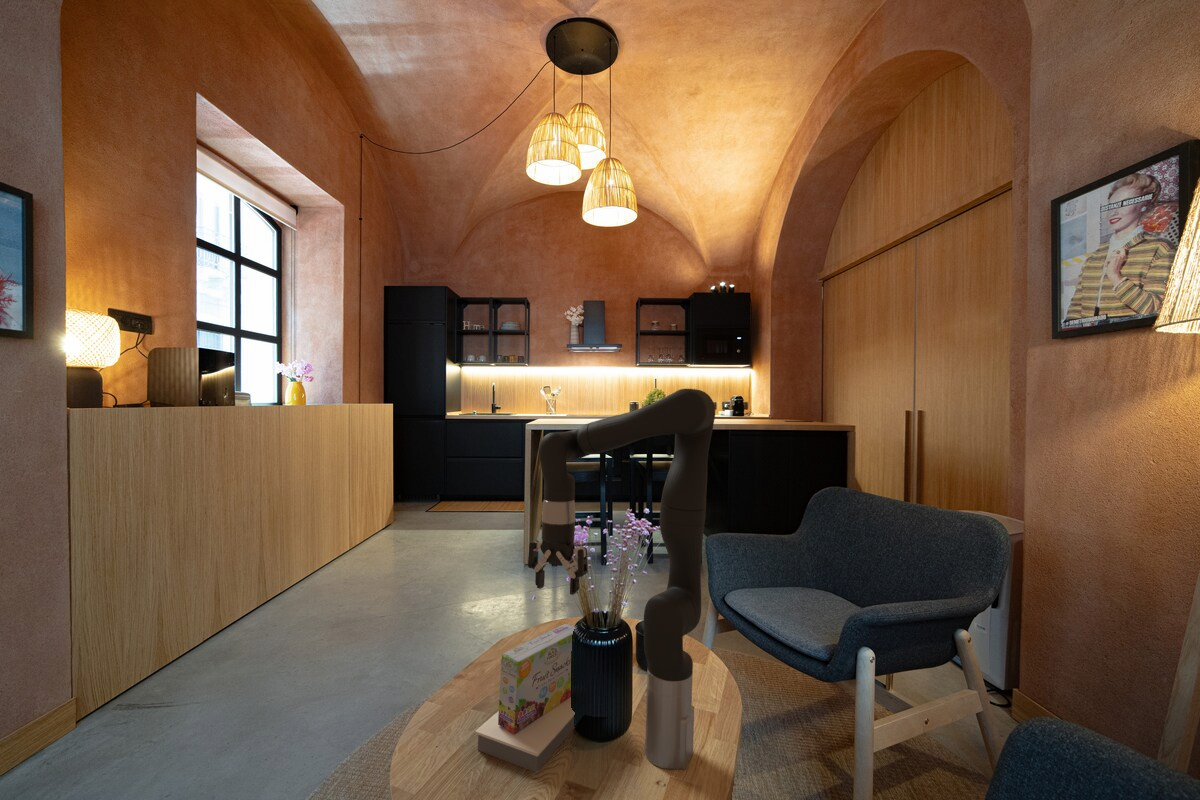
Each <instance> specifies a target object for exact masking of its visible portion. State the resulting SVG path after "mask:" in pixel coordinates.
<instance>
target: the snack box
mask: <svg viewBox="0 0 1200 800" xmlns="http://www.w3.org/2000/svg"><path fill="white" fill-rule="evenodd" d="M575 627H576V626H574V625H571V624H568V623H563V624H562V625H560V626H557V627H555V628H553V629H551V630H550V631H547V632H544V633H543V634H541V635H538V636H537V637H534V638H533V639H531V640H528V641H527V642H524V643H523V644H520V645H517V646H516V647H514V648H512V649H510V650H508V651H506V652H504V653H502V654H501V659H500V662H501V664H500V680H499V682H500V684H499V698H498V700H499V701H498V702H499V703H498V711H499V715H498V725H500V726H502V727H503V728H505V729H507V730H508V731H510V732H511V733H513V734H516V733H517V732H519V731H520V730H522V729H523V728H525V727H526V726H528V725H529V724H531V723H532V722H534V721H535V720H537V719H538V718H540V717H541V716H543V715H544V714H546V713H547V712H549V711H550V710H552V709H553V708H555V707H556V706H558V705H559V704H561V703H562V702H564V701H565V700H567V699H568V698H570V697H571V651H572V635H573V631H574V629H575Z"/></svg>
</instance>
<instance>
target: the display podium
mask: <svg viewBox="0 0 1200 800" xmlns="http://www.w3.org/2000/svg"><path fill="white" fill-rule="evenodd" d="M498 715H499V710H498V711H497V712H496V713H495V714H493V715H492V716H491V717H490V718H488V719H487V720H486V721H485V722H484V723H483V724H481V725H480V727H478V728H477V729H476V730H474V734H475V735H478V736H477V740H478V741H477V751H479V752H482V753H485V754H486V755H489V756H492V757H495V758H497V759H500V760H503V761H505V762H508V763H510V764H513V765H515V766H517V767H521V768H523V769H526V770H528V771H531V772H534V773H537V772H538V771H539V770H540V769H541V768H542V767H543V766H544V764H545V763H546V762H547V760H548V759H550V758H551V757H552V755H553V754H554V752H555V751H556V750H557V749H558V748H559V747H560V745H561V744H562V743H563V742H564V740H566V738H567V737H569V735H570V734H571V732H573V731H574V729H575V728H576V727H574V715H575V712H574V711H573V710H572V708H571V697H570V698H568V699H567V700H565V701H564V702H562V703H561V704H559V705H558V706H556V707H555V708H553V709H552V710H550V711H549V712H547V713H546V714H544V715H543V716H541V717H540V718H538V719H537V720H535V721H534V722H532V723H531V724H529V725H528V726H526V727H525V728H523V729H522V730H520V731H519V732H517V733H516V734H513V733H511V732H510V731H508V730H507V729H505V728H503V727H502V726H500V725H498Z"/></svg>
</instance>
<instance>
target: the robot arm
mask: <svg viewBox="0 0 1200 800" xmlns="http://www.w3.org/2000/svg"><path fill="white" fill-rule="evenodd" d="M715 419H716V406H715V403H714V400H713V399H712V397H711V396H710V395H709V394H708V393H706V392H705V391H703V390H700V389H695V388H681V389H678V390H675V392H672V393H671V394H667V396H664V397H662V398H660V399H659V400H656V401H654V402H652V403H650V404H648V405H646V406H644V407H641V408H638V409H634V410H632V411H628V412H624V413H621V414H616V415H613V416H609V417H604V418H602V419H601V418H600V419H598V420H595V421H591V422H588V423H586V424H583V425H582V426H580V427H579V428H576V429H573V430H572V429H571V430H567V431H558V432H557V431H556V432H555V431H554V432H549V433H546V434H545V436H543V437H542V438H541V441H540V443H539V449H538V455H539V456H538V457H539V463H540V467H541V468H540V470H541V473H542V477H543V481H544V483H543V503H542V510H541V513H542V514H541V542H540V541H539V540H534V541H531V542H530V543H529V545H528V547H529V548H528V558H527V567H528V569H532V570H534V572H535V581H534V582H535V586H536V589H539V590H540V589H543V588H544V587H545V574H546V573H545V570H544V569H545V568H546V567H547V566H548V565H557V566H558V567H559V566H560V567H563V568H564V569H565V570H566V571H567V572H568V574H569V575H570V577H569V578H570V579H569V581H570V582H569V595H572V596H574V595H575V594H577V592H578V591H579V590H580V578H582V577H583V576H585V575H587V574H588V567H589V566H588V548H587V547H586V546H584V547H579V548H578V547H576V546H575V538H576V537H575V533H576V532H575V531H576V530H575V529H576V505H575V503H576V502H575V495H576V493H575V492H576V491H575V489H576V486H575V485H576V482H575V481H576V480H575V477H574V475H572V474H570V473H569V472H568V467H567V462H572V461H576V460H579V459H581V458H582V459H583V458H585V457H587V456H590V455H596V454H600V453H604V452H608V451H612V450H615V449H619V448H621V447H624V446H627V445H630V444H632V443H635V442H637V441H638V442H639V441H640V440H643V439H648V438H652V437H658V436H665V435H674V448H673V449H674V450H673V451H674V452H673V456H672V460H671V464H670V467H669V470H668V473H667V476H666V478H665V482H664V486H663V488H662V493H661V500H660V510H659V511H660V513H659V530H660V535H661V538H662V541H663V544H664V547H665V549H666V552H667V555H668V560H669V561H668V562H669V570H668V581H667V586H666V587H667V588H666V590H664V591H662V592H660V593H658V594H655V595H654V596H652V597H651V598H649V599H648V601H647V603H646V604H645V607H644V612H643V647H644V648H643V650H644V656H645V658H646V661H647V672H646V673H647V674H646V675H647V676H646V705H645V706H646V708H645V709H646V710H645V714H646V715H645V739H644V742H645V743H644V745H645V747H644V751H645V752H644V753H645V756H646V758H647V759H648V760H649V762H650V763H652V764H653V765H655V766H656V767H659V768H662V769H668V770H676V769H682V770H686V769H687V766H688V765H689V762H690V760H691V758H692V756H693V753H694V737H695V736H694V735H695V734H694V731H695V729H694V728H695V727H694V726H695V706H694V705H692V704H693V703H692V702H693V669H694V668H693V666H694V665H693V663H694V662H693V658H692V656H691V655H690V654H689V653H688V652H687V651H685V650H684V639H683V638H684V636H686V635H687V634H689V633H691V632H692V631H694V629H696V628H697V626H698V625H699V623H700V620H701V616H702V584H701V583H702V582H701V580H702V578H701V576H702V573H701V571H702V570H701V568H702V566H701V565H702V556H703V543H704V542H703V541H704V540H703V539H704V529H705V525H706V523H705V522H706V511H707V489H708V488H707V487H708V463H709V462H708V461H709V460H708V458H709V452H710V444H711V439H712V435H713V429H714V424H715ZM539 551H541V553H542V554H543V555H542V557H541V558H540V559H539ZM574 555H575V558H576V559H577V562H576V560H575V558H574Z"/></svg>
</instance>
